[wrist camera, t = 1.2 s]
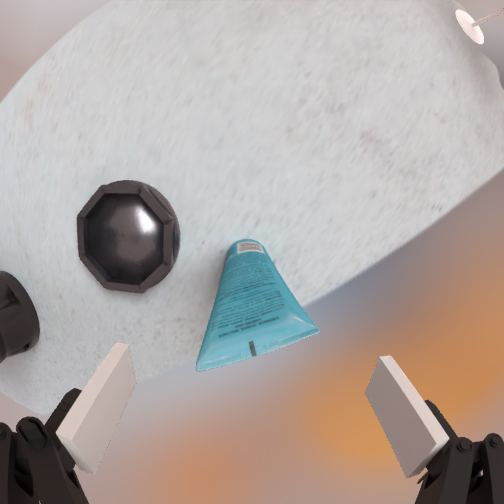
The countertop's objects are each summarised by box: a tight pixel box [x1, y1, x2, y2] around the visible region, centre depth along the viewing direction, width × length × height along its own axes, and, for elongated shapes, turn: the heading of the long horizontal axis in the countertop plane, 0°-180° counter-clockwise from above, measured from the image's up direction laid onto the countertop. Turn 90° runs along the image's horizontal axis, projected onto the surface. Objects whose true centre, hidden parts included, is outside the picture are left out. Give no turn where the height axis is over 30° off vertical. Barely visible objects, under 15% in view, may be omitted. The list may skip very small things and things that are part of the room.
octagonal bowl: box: [77, 180, 180, 293], centre depth 31 cm, size 14×14×2 cm
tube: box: [196, 239, 319, 372], centre depth 24 cm, size 7×5×19 cm, turn 116°
